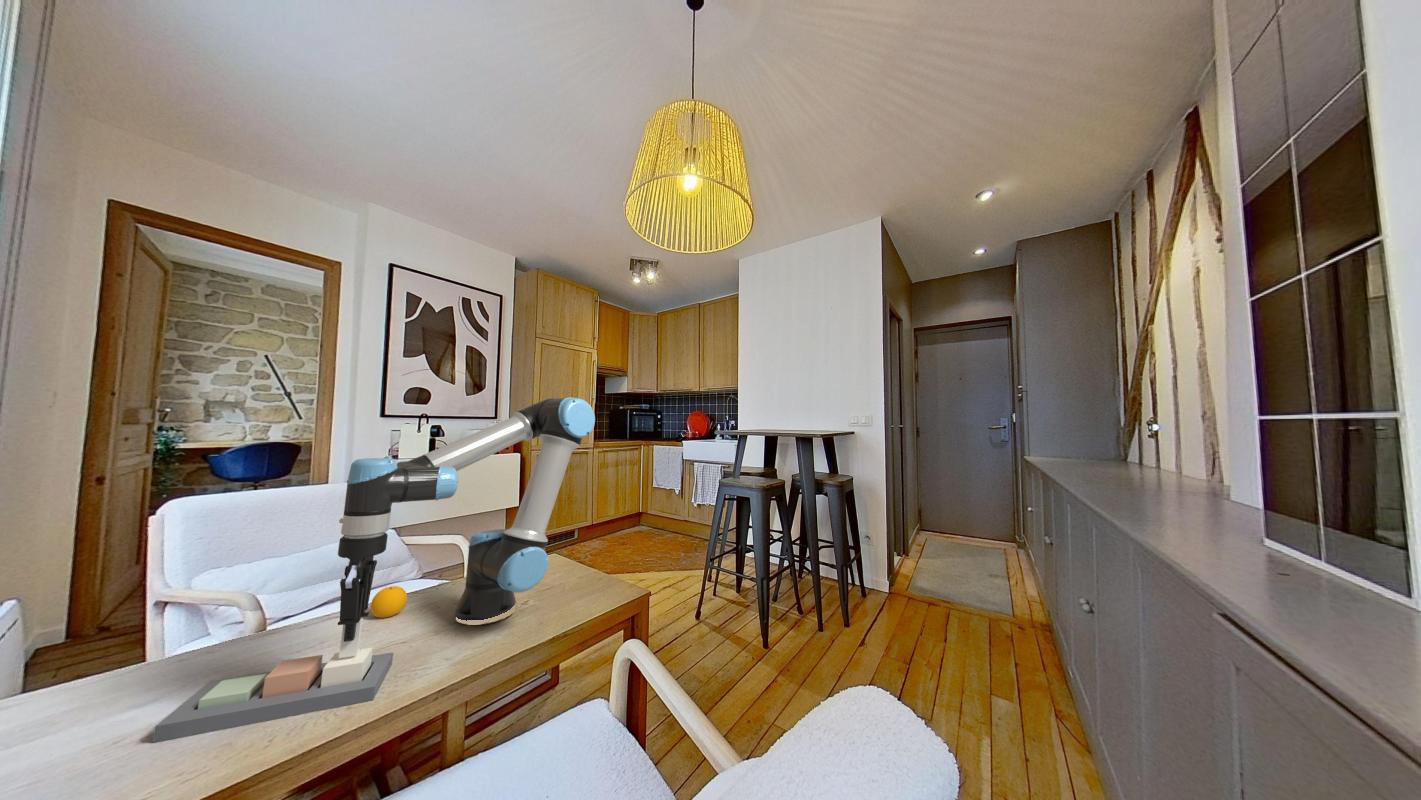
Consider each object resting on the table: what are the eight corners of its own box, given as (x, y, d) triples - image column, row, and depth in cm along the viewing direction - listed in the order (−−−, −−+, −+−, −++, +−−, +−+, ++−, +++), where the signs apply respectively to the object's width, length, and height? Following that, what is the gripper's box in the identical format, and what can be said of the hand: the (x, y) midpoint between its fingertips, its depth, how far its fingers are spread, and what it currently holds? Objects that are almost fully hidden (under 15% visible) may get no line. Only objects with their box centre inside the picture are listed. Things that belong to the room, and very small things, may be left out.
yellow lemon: (409, 607, 115) (412, 580, 116) (401, 619, 108) (404, 590, 109) (374, 610, 112) (378, 583, 113) (364, 623, 105) (367, 593, 106)
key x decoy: (320, 673, 80) (322, 654, 80) (306, 690, 75) (309, 671, 75) (279, 679, 77) (282, 660, 78) (262, 698, 72) (265, 677, 72)
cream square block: (370, 664, 83) (372, 647, 84) (360, 681, 78) (363, 662, 78) (333, 671, 81) (335, 652, 81) (320, 688, 75) (323, 668, 76)
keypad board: (391, 664, 88) (393, 652, 88) (373, 700, 76) (374, 686, 76) (208, 694, 76) (210, 680, 76) (152, 742, 64) (155, 726, 64)
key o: (263, 692, 76) (266, 673, 77) (244, 713, 71) (247, 692, 71) (219, 700, 74) (222, 680, 74) (195, 722, 68) (199, 700, 69)
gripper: (352, 528, 86) (337, 642, 84) (327, 543, 75) (308, 677, 72) (395, 526, 90) (382, 636, 87) (378, 540, 78) (361, 668, 76)
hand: (349, 654), depth 80 cm, fingers closed
